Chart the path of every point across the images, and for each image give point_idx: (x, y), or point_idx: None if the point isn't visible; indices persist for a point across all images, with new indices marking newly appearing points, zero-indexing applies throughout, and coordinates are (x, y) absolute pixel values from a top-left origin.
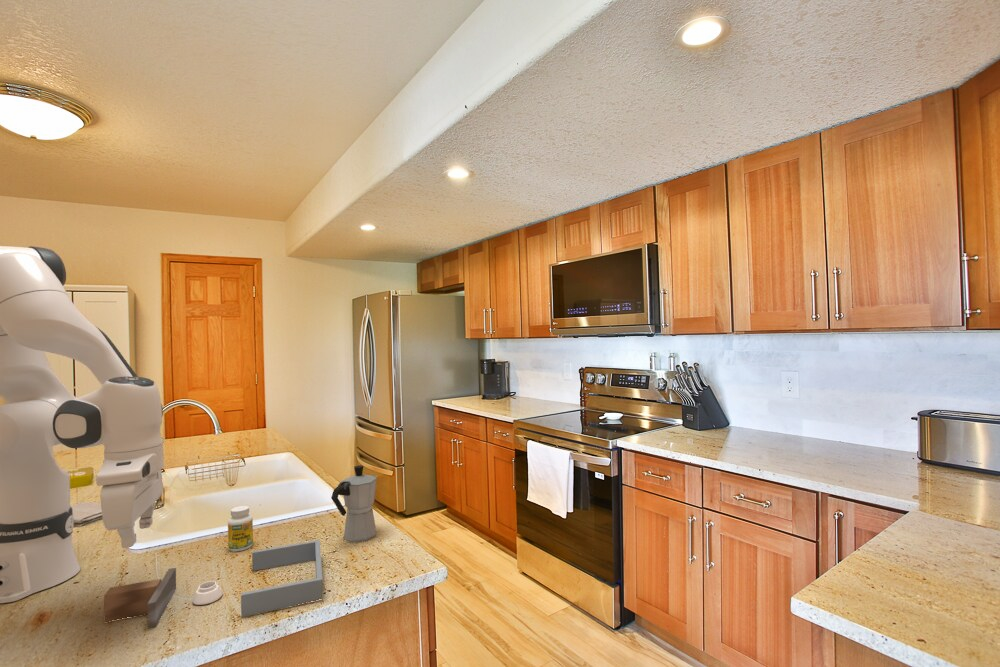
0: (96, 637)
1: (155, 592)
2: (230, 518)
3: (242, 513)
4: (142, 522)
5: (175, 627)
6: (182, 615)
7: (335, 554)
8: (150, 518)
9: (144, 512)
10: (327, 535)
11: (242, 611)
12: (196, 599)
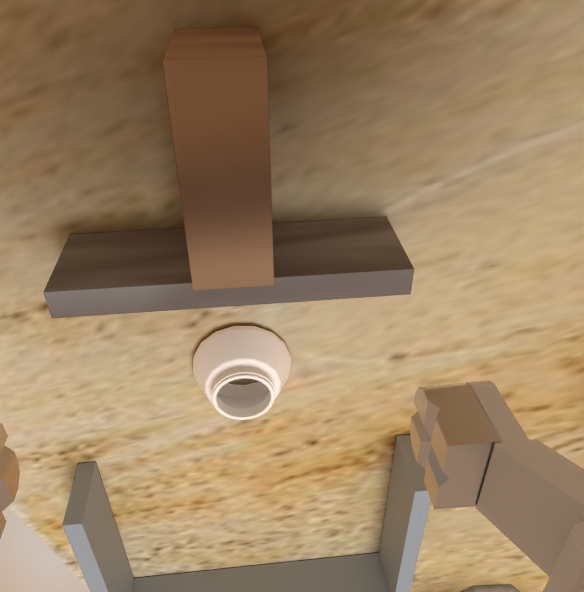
0: (41, 46)
1: (152, 290)
2: None
3: None
4: (433, 443)
5: (59, 318)
6: (142, 317)
7: None
8: (450, 502)
9: (544, 506)
10: None
11: (75, 480)
12: (205, 354)
